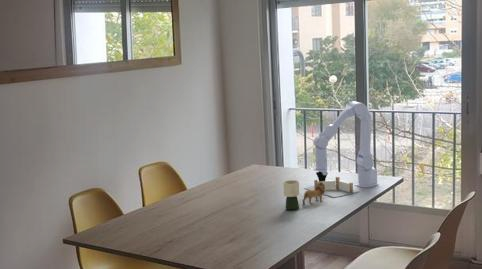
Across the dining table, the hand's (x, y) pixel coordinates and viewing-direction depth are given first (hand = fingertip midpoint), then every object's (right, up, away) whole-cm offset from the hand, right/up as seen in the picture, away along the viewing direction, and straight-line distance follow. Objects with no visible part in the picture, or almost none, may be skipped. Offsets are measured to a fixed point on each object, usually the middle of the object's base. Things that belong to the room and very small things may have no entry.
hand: (322, 185), depth 310 cm
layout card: (+4, -2, -2) cm, 5 cm away
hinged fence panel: (+1, -1, -1) cm, 2 cm away
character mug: (-18, -8, -30) cm, 36 cm away
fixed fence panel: (+11, -2, -5) cm, 12 cm away
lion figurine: (-7, -6, -21) cm, 23 cm away
